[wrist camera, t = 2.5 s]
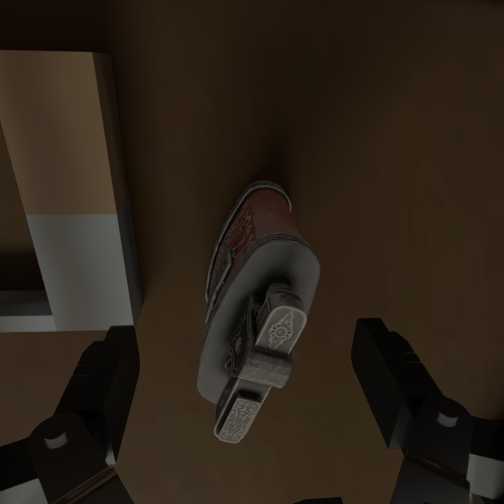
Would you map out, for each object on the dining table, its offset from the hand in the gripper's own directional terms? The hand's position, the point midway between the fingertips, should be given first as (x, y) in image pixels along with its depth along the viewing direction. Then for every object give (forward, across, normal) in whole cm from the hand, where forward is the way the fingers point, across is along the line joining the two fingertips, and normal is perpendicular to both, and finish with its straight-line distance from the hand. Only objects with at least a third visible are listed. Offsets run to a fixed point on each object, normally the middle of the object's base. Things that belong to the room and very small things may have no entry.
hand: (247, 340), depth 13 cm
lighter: (+8, 0, 0) cm, 8 cm away
